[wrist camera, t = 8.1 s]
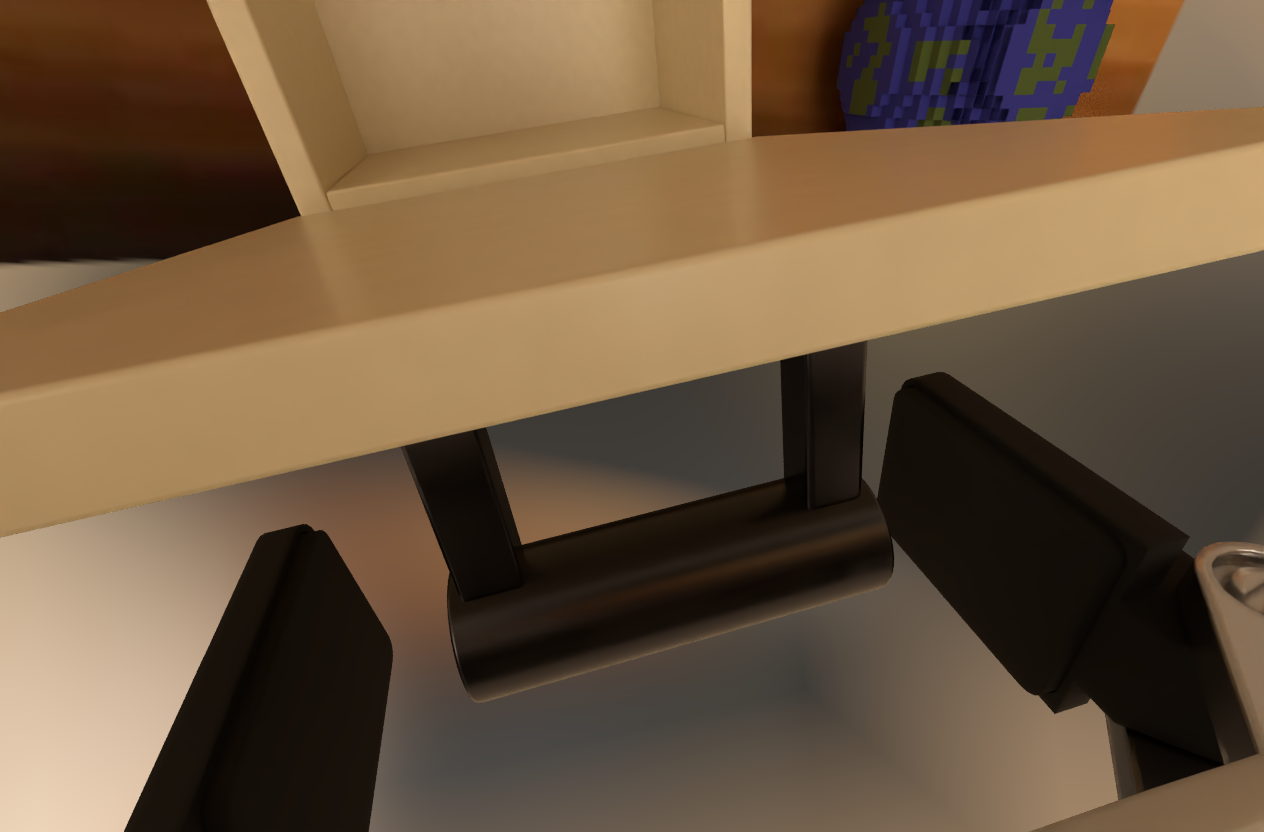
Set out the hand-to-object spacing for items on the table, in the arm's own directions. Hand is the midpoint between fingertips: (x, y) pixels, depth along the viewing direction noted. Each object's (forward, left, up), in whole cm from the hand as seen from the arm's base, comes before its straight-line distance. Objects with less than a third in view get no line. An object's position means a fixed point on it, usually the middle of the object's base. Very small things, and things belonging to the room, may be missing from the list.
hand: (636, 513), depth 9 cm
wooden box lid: (-5, 0, -3) cm, 5 cm away
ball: (-4, +16, -18) cm, 24 cm away
